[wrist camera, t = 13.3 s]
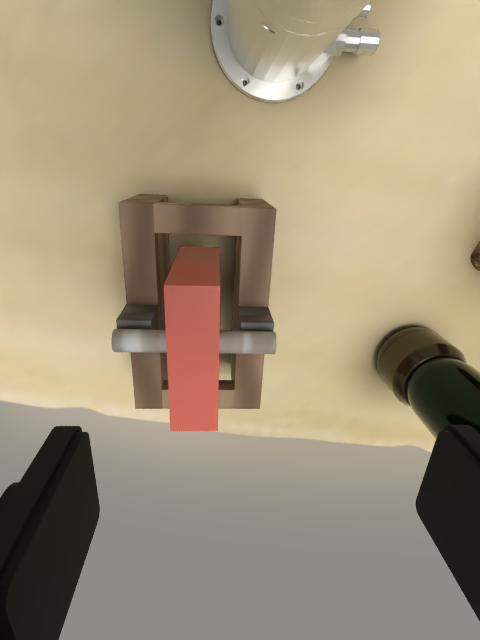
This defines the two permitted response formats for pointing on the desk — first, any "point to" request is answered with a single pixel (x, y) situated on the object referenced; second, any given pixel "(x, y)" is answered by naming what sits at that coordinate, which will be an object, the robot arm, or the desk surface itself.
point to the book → (476, 257)
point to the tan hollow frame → (148, 293)
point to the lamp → (431, 378)
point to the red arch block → (193, 338)
